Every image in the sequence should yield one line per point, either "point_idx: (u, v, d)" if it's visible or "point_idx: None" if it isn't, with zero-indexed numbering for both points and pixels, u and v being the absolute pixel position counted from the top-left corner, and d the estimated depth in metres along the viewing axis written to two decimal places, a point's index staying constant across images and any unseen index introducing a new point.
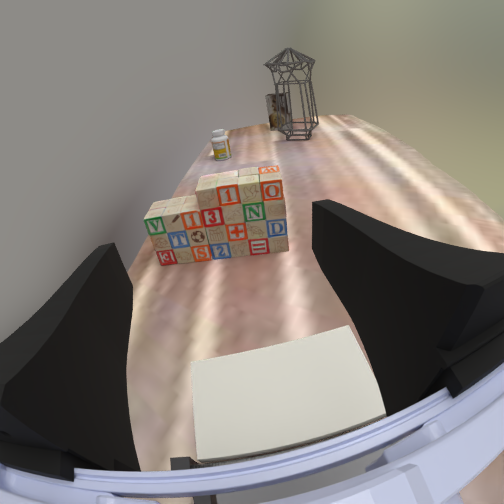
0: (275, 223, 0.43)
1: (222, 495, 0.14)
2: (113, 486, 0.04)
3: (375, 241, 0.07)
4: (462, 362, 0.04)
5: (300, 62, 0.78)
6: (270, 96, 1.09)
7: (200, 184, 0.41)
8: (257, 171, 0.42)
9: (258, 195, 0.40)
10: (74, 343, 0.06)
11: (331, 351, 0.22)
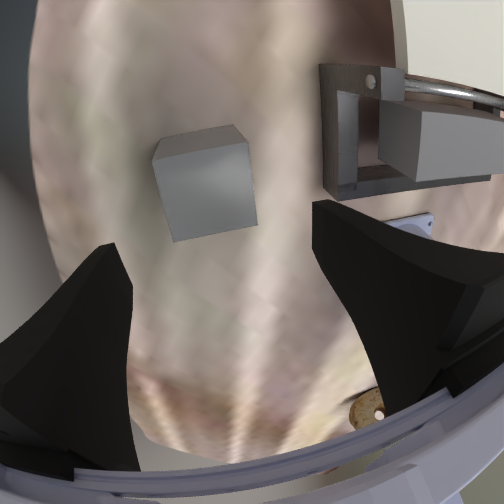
0: None
1: (426, 131, 0.12)
2: (113, 486, 0.04)
3: (375, 241, 0.07)
4: (462, 362, 0.04)
5: None
6: None
7: None
8: None
9: None
10: (74, 343, 0.06)
11: None
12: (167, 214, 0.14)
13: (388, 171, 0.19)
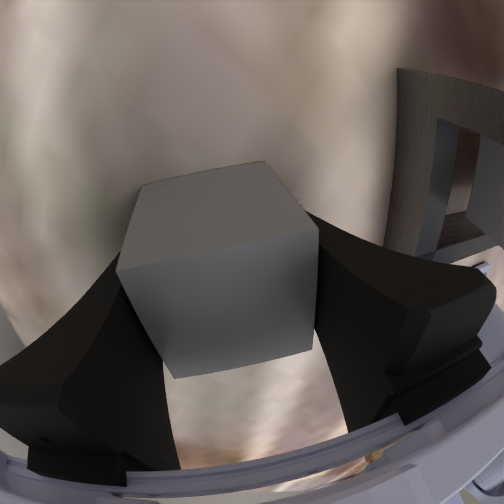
0: None
1: None
2: (113, 486, 0.04)
3: (327, 252, 0.07)
4: (416, 388, 0.04)
5: None
6: None
7: None
8: None
9: None
10: (121, 337, 0.06)
11: None
12: (160, 349, 0.08)
13: (463, 226, 0.13)
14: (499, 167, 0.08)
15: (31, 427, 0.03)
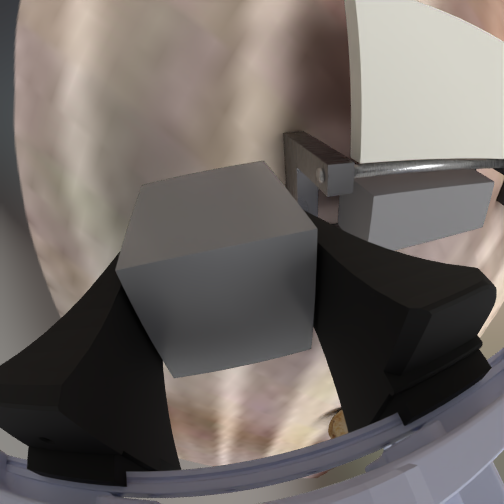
0: None
1: (378, 213, 0.15)
2: (113, 486, 0.04)
3: (328, 252, 0.07)
4: (416, 387, 0.04)
5: None
6: None
7: None
8: None
9: None
10: (121, 337, 0.06)
11: (497, 66, 0.10)
12: (159, 348, 0.08)
13: None
14: None
15: (31, 427, 0.03)
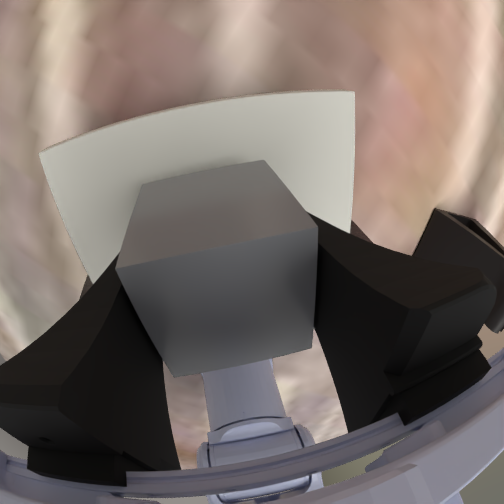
0: None
1: None
2: (113, 486, 0.04)
3: (328, 252, 0.07)
4: (416, 387, 0.04)
5: None
6: None
7: None
8: None
9: None
10: (121, 337, 0.06)
11: (306, 140, 0.12)
12: (159, 347, 0.08)
13: None
14: None
15: (31, 427, 0.03)
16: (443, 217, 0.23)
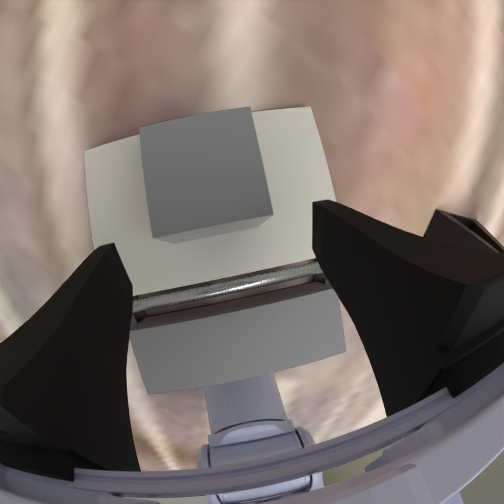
0: None
1: (139, 349, 0.15)
2: (113, 486, 0.04)
3: (375, 241, 0.07)
4: (462, 362, 0.04)
5: None
6: None
7: None
8: None
9: None
10: (74, 343, 0.06)
11: (280, 142, 0.16)
12: (148, 194, 0.10)
13: None
14: None
15: None
16: (445, 218, 0.23)
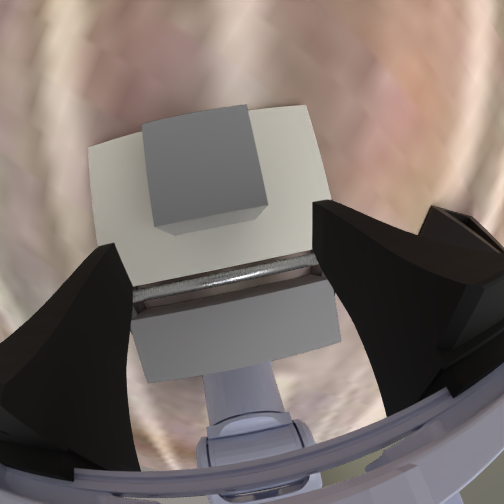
0: None
1: (140, 338, 0.16)
2: (113, 486, 0.04)
3: (375, 241, 0.07)
4: (462, 362, 0.04)
5: None
6: None
7: None
8: None
9: None
10: (74, 343, 0.06)
11: (276, 138, 0.17)
12: (150, 185, 0.11)
13: None
14: None
15: None
16: (440, 214, 0.24)
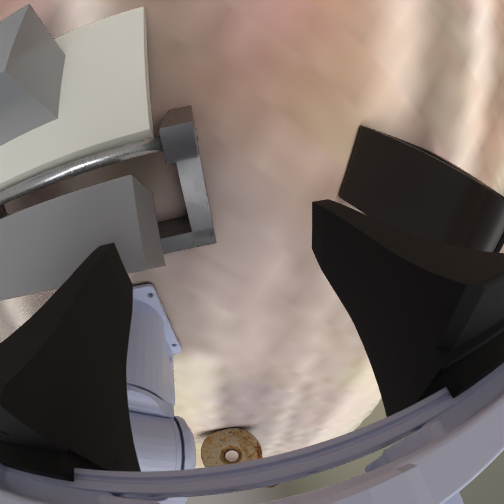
0: None
1: None
2: (113, 485, 0.04)
3: (375, 241, 0.07)
4: (462, 362, 0.04)
5: None
6: None
7: None
8: None
9: None
10: (74, 343, 0.06)
11: (101, 40, 0.11)
12: None
13: None
14: None
15: None
16: (371, 133, 0.18)
